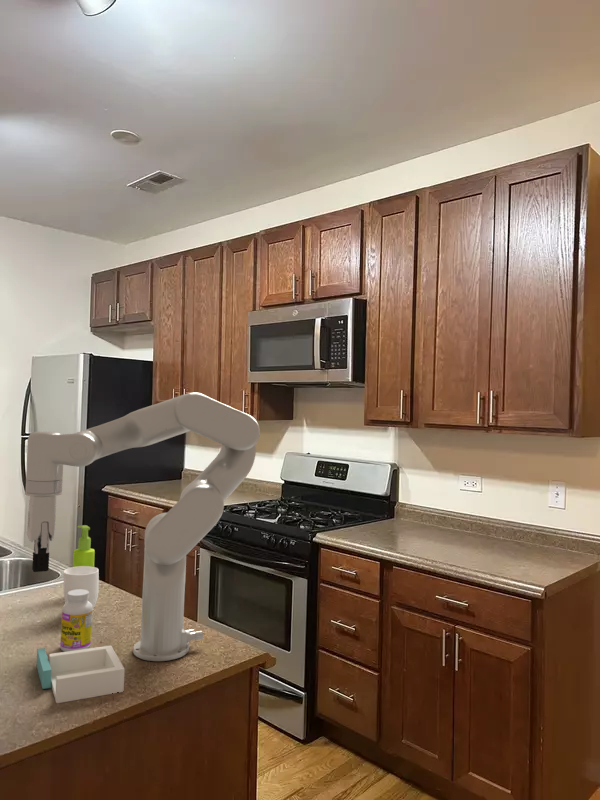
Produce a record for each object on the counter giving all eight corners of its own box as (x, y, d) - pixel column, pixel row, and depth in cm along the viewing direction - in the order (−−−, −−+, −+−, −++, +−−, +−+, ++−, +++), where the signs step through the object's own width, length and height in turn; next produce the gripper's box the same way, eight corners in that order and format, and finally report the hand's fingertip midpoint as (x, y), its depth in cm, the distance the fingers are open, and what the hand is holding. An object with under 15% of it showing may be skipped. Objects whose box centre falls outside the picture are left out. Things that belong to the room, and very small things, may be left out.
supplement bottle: (53, 651, 143) (56, 594, 143) (71, 641, 149) (73, 586, 149) (80, 655, 141) (82, 598, 141) (96, 644, 147) (98, 589, 147)
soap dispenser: (87, 590, 188) (90, 523, 188) (96, 596, 183) (99, 527, 183) (67, 593, 185) (70, 525, 185) (75, 599, 179) (78, 529, 179)
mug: (99, 618, 164) (99, 573, 164) (62, 622, 161) (63, 575, 161) (97, 604, 175) (97, 561, 175) (63, 607, 172) (63, 564, 172)
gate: (44, 664, 135) (44, 647, 135) (50, 687, 124) (51, 669, 124) (36, 665, 134) (37, 648, 134) (42, 689, 123) (43, 671, 124)
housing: (110, 666, 136) (111, 645, 136) (123, 691, 124) (124, 668, 124) (48, 675, 130) (49, 653, 130) (56, 703, 119) (57, 679, 119)
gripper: (22, 483, 144) (19, 563, 144) (28, 493, 131) (24, 581, 131) (57, 482, 148) (54, 561, 148) (66, 492, 135) (62, 578, 134)
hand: (40, 570), depth 139 cm, fingers closed
